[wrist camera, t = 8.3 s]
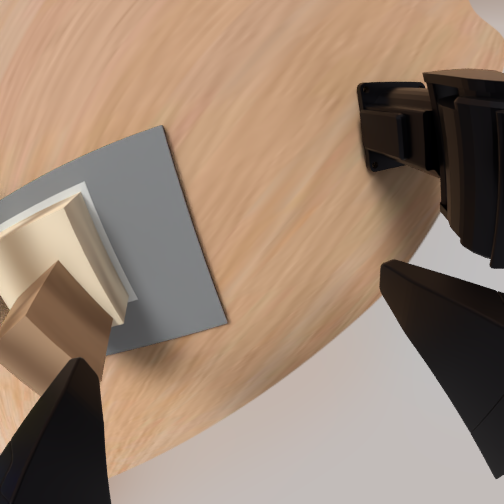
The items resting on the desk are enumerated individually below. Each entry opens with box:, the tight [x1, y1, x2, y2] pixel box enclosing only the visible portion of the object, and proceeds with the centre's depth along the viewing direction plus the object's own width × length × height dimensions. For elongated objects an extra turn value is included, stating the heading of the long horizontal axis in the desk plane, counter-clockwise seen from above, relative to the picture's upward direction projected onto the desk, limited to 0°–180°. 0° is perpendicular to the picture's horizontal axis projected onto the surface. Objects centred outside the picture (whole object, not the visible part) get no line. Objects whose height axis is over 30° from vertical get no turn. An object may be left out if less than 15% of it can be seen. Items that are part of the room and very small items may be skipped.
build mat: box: [0, 125, 227, 356], centre depth 18 cm, size 16×15×1 cm
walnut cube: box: [0, 260, 113, 396], centre depth 13 cm, size 5×5×5 cm
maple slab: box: [0, 192, 129, 327], centre depth 15 cm, size 8×8×3 cm
